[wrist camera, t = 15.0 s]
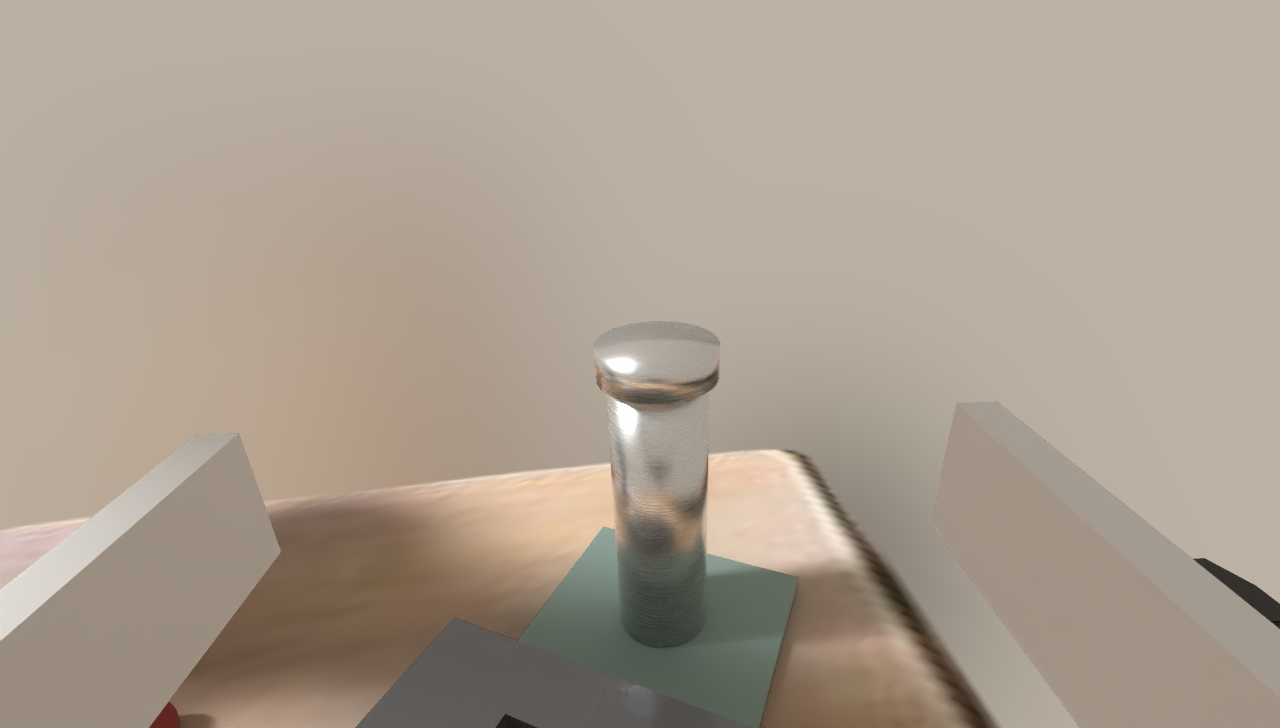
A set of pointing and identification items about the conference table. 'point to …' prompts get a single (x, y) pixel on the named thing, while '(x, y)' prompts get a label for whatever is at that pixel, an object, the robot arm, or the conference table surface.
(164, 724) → the pliers
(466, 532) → the conference table surface
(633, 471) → the steel pin
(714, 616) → the rubber mat
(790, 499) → the conference table surface
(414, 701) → the socket plate
